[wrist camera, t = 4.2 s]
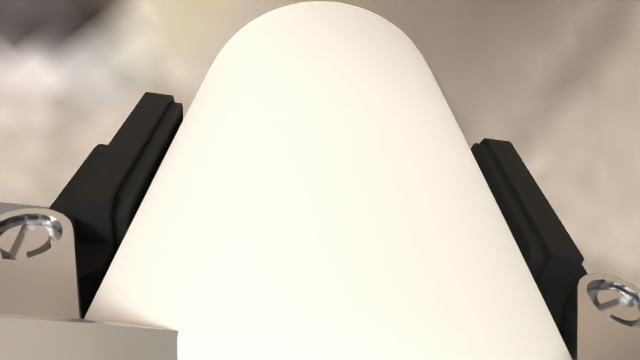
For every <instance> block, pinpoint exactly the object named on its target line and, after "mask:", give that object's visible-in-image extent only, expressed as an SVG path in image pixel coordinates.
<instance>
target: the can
mask: <svg viewBox="0 0 640 360" xmlns="http://www.w3.org/2000/svg"><path fill="white" fill-rule="evenodd" d="M84 319H87V320H97V321H108V322H119V323H129V324H138V325H147V326H153V327H159V328H165V329H170V330H176V331H179V332H178V337H177V357H178V360H572V358H571V356H570V354H569V352H568V350H567V347H566V345H565V343H564V341H563V339H562V337H561V335H560V333H559V331H558V329H557V326H556V324H555V322H554V320H553V318H552V316H551V314H550V312H549V310H548V308H547V306H546V304H545V301H544V299H543V297H542V295H541V293H540V291H539V289H538V287H537V285H536V283H535V281H534V279H533V277H532V275H531V273H530V271H529V269H528V266H527V264H526V262H525V260H524V258H523V256H522V254H521V252H520V250H519V248H518V246H517V244H516V242H515V240H514V238H513V236H512V233H511V231H510V229H509V227H508V225H507V223H506V221H505V219H504V217H503V215H502V213H501V211H500V209H499V207H498V205H497V203H496V201H495V199H494V197H493V195H492V193H491V191H490V189H489V187H488V184H487V182H486V180H485V178H484V176H483V174H482V172H481V170H480V168H479V166H478V164H477V162H476V160H475V158H474V156H473V154H472V152H471V150H470V148H469V146H468V144H467V142H466V140H465V138H464V136H463V134H462V132H461V130H460V128H459V126H458V124H457V122H456V120H455V118H454V116H453V114H452V112H451V110H450V108H449V106H448V104H447V102H446V100H445V98H444V96H443V94H442V92H441V90H440V88H439V86H438V84H437V82H436V80H435V78H434V76H433V74H432V72H431V70H430V68H429V67H428V65H427V63H426V61H425V59H424V58H423V56H422V54H421V53H420V51H419V50H418V49H417V47H416V46H415V45H414V43H413V42H412V41H411V40H410V39H409V38H408V36H407V35H406V34H404V33H403V32H402V31H401V30H400V29H399V28H398V27H396V26H395V25H394V24H392V23H391V22H389V21H388V20H386V19H384V18H383V17H381V16H379V15H377V14H375V13H373V12H371V11H368V10H366V9H363V8H360V7H357V6H354V5H349V4H345V3H339V2H330V1H311V2H301V3H296V4H291V5H287V6H283V7H280V8H277V9H275V10H272V11H270V12H267V13H265V14H263V15H261V16H259V17H258V18H256V19H254V20H253V21H251V22H250V23H248V24H247V25H246V26H244V27H243V28H242V29H240V30H239V31H238V32H237V33H236V34H235V35H234V36H233V37H232V38H231V39H230V40H229V41H228V42H227V44H226V45H225V46H224V47H223V49H222V50H221V51H220V53H219V54H218V56H217V57H216V59H215V61H214V62H213V64H212V66H211V67H210V69H209V71H208V73H207V75H206V77H205V79H204V81H203V82H202V84H201V86H200V88H199V90H198V92H197V94H196V96H195V98H194V100H193V102H192V104H191V106H190V108H189V110H188V112H187V114H186V116H185V118H184V120H183V121H182V123H181V125H180V127H179V129H178V131H177V133H176V135H175V137H174V139H173V141H172V143H171V145H170V147H169V149H168V151H167V153H166V155H165V157H164V159H163V161H162V163H161V165H160V167H159V169H158V171H157V173H156V175H155V177H154V179H153V181H152V183H151V185H150V187H149V189H148V191H147V193H146V195H145V197H144V199H143V201H142V203H141V205H140V207H139V209H138V211H137V213H136V215H135V217H134V219H133V221H132V223H131V225H130V227H129V229H128V231H127V233H126V235H125V237H124V239H123V241H122V243H121V245H120V247H119V249H118V251H117V253H116V255H115V257H114V259H113V261H112V263H111V265H110V267H109V269H108V271H107V273H106V275H105V277H104V279H103V281H102V283H101V285H100V287H99V289H98V291H97V293H96V295H95V297H94V299H93V301H92V303H91V305H90V307H89V309H88V312H87V314H86V316H85V318H84Z"/></svg>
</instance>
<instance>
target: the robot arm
mask: <svg viewBox="0 0 640 360" xmlns="http://www.w3.org/2000/svg"><path fill="white" fill-rule="evenodd" d="M182 121H183V106H182V103H175V101H174V97H173V96H172V95H165V94H157V93H150V92H146V93H145V94H144V95H143V97H142V98H141V100H140V101H139V102H138V104H137V105H136V107H135V108H134V109H133V111H132V112H131V114H130V115H129V116H128V118H127V119H126V121H125V122H124V123H123V125H122V126H121V128H120V129H119V130H118V132H117V133H116V135H115V136H114V137H113V139H112V140H111V142H110V143H109V145H104V144H99V145H97V146H96V147H95V148H94V149H93V150H92V152H91V153H90V154H89V156H88V157H87V158H86V160H85V161H84V162H83V164H82V165H81V166H80V168H79V169H78V170H77V172H76V173H75V174H74V176H73V177H72V178H71V180H70V181H69V182H68V184H67V185H66V187H65V188H64V189H63V191H62V192H61V193H60V195H59V196H58V197H57V199H56V200H55V201H54V203H53V204H52V205H51V207H50V208H49V209H43V208H26V209H20V210H15V211H10V212H7V213H5V214H2V215H0V360H178V357H177V337H178V332H179V331H176V330H170V329H165V328H159V327H153V326H147V325H138V324H129V323H119V322H108V321H97V320H87V319H84V318H85V316H86V314H87V312H88V309H89V307H90V305H91V303H92V301H93V299H94V297H95V295H96V293H97V291H98V289H99V287H100V285H101V283H102V281H103V279H104V277H105V275H106V273H107V271H108V269H109V267H110V265H111V263H112V261H113V259H114V257H115V255H116V253H117V251H118V249H119V247H120V245H121V243H122V241H123V239H124V237H125V235H126V233H127V231H128V229H129V227H130V225H131V223H132V221H133V219H134V217H135V215H136V213H137V211H138V209H139V207H140V205H141V203H142V201H143V199H144V197H145V195H146V193H147V191H148V189H149V187H150V185H151V183H152V181H153V179H154V177H155V175H156V173H157V171H158V169H159V167H160V165H161V163H162V161H163V159H164V157H165V155H166V153H167V151H168V149H169V147H170V145H171V143H172V141H173V139H174V137H175V135H176V133H177V131H178V129H179V127H180V125H181V123H182ZM471 152H472V154H473V156H474V158H475V160H476V162H477V164H478V166H479V168H480V170H481V172H482V174H483V176H484V178H485V180H486V182H487V184H488V187H489V189H490V191H491V193H492V195H493V197H494V199H495V201H496V203H497V205H498V207H499V209H500V211H501V213H502V215H503V217H504V219H505V221H506V223H507V225H508V227H509V229H510V231H511V233H512V236H513V238H514V240H515V242H516V244H517V246H518V248H519V250H520V252H521V254H522V256H523V258H524V260H525V262H526V264H527V266H528V269H529V271H530V273H531V275H532V277H533V279H534V281H535V283H536V285H537V287H538V289H539V291H540V293H541V295H542V297H543V299H544V301H545V304H546V306H547V308H548V310H549V312H550V314H551V316H552V318H553V320H554V322H555V324H556V326H557V329H558V331H559V333H560V335H561V337H562V339H563V341H564V343H565V345H566V347H567V350H568V352H569V354H570V356H571V358H572V360H640V289H638V288H637V287H635V286H634V285H632V284H630V283H628V282H626V281H624V280H622V279H619V278H617V277H614V276H610V275H607V274H598V273H593V274H587V272H586V270H585V269H584V267H583V266H582V262H583V260H584V258H583V256H582V254H581V253H580V251H579V250H578V248H577V247H576V245H575V243H574V242H573V240H572V239H571V237H570V235H569V234H568V232H567V231H566V229H565V228H564V226H563V224H562V223H561V221H560V220H559V218H558V216H557V215H556V213H555V212H554V210H553V209H552V207H551V205H550V204H549V202H548V201H547V199H546V197H545V196H544V194H543V193H542V191H541V189H540V188H539V186H538V185H537V183H536V182H535V180H534V178H533V177H532V175H531V174H530V172H529V170H528V169H527V167H526V166H525V164H524V163H523V161H522V159H521V158H520V156H519V155H518V153H517V151H516V150H515V148H514V147H513V145H512V144H511V143H510V142H509V141H501V140H494V139H487V138H485V139H483V140H482V141H481V143H480V144H477V143H475V144H474V145H473V146H472V148H471Z"/></svg>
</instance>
